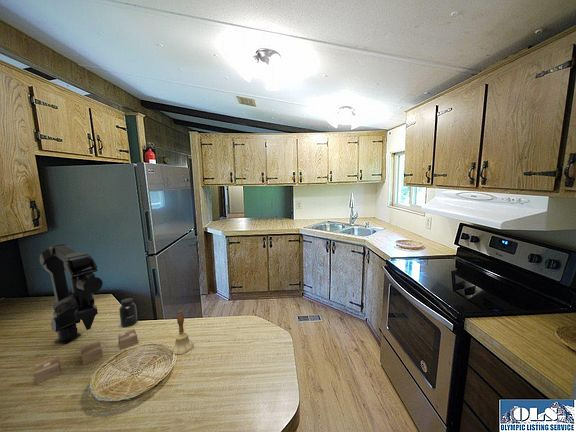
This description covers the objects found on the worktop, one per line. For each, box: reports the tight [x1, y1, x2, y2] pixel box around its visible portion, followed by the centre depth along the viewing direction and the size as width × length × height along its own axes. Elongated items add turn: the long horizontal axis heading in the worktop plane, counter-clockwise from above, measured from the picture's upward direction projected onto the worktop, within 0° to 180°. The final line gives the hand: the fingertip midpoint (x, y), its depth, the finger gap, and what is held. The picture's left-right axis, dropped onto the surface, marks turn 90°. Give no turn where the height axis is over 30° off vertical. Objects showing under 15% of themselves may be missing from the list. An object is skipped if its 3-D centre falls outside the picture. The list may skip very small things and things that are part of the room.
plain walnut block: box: [80, 340, 104, 366], centre depth 95 cm, size 6×6×4 cm
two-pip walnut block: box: [117, 328, 139, 350], centre depth 103 cm, size 6×6×4 cm
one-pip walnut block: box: [33, 356, 61, 385], centre depth 87 cm, size 6×6×4 cm
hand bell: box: [171, 309, 194, 355], centre depth 98 cm, size 8×8×16 cm
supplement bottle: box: [118, 297, 138, 328], centre depth 118 cm, size 7×7×12 cm
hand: (87, 326), depth 94 cm, fingers open, 6 cm apart
